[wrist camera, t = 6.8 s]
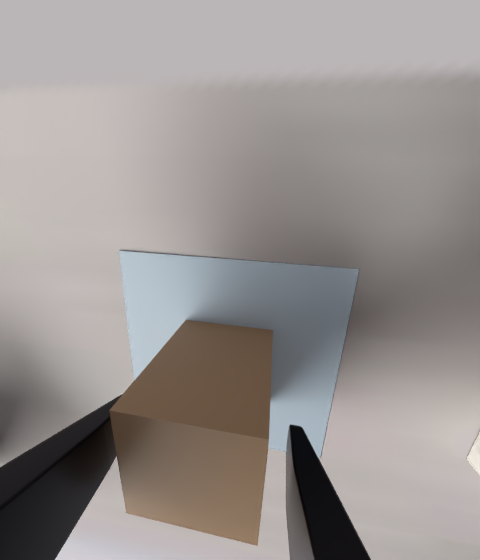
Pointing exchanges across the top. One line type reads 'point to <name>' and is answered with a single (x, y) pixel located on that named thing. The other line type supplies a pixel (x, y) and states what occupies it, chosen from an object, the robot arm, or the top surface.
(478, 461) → the box
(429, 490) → the top surface
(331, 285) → the lid
